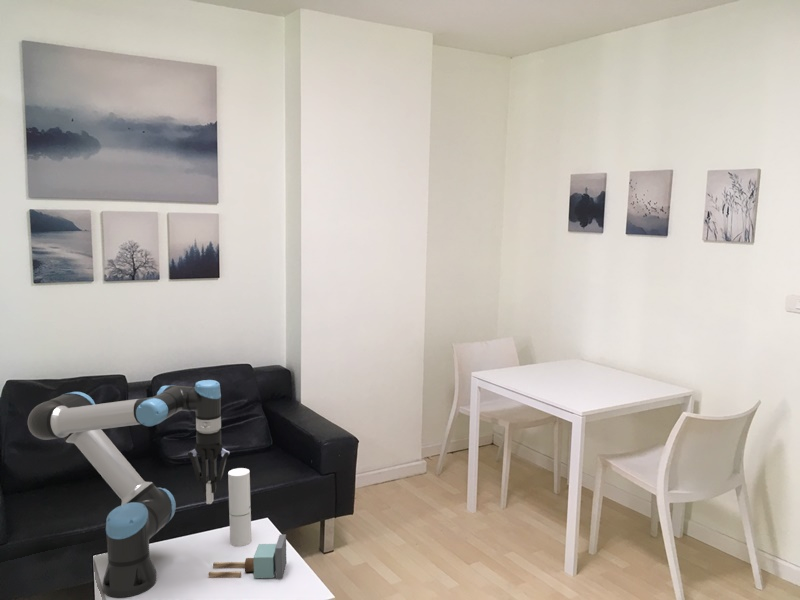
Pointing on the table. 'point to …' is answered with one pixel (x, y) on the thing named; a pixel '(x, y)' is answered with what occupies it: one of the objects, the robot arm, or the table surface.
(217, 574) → the rails
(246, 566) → the dowel
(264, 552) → the block
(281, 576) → the wall
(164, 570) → the table surface
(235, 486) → the cylindrical container
